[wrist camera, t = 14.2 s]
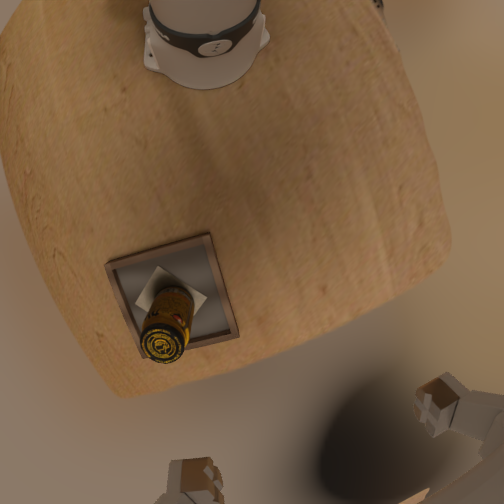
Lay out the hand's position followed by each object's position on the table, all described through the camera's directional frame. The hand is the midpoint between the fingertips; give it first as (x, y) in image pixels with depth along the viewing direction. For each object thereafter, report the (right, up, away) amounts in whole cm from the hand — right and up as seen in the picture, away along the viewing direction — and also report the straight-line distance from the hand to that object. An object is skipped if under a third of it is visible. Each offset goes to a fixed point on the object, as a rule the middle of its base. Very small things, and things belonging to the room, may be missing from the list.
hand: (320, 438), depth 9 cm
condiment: (-15, 0, +33) cm, 36 cm away
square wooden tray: (-14, 0, +34) cm, 36 cm away
